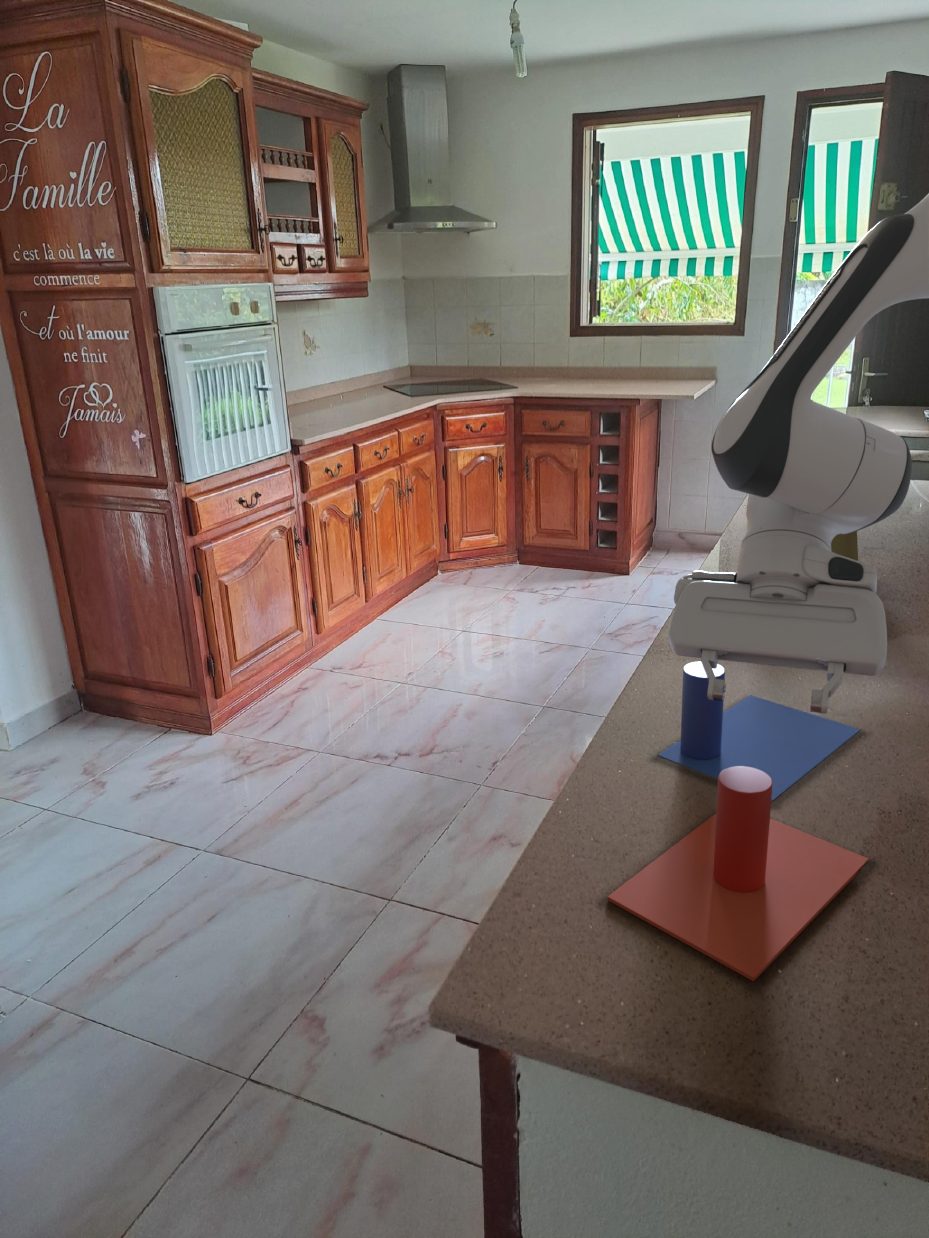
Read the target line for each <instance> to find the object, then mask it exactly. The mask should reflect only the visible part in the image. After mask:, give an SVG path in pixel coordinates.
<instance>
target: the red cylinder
mask: <svg viewBox="0 0 929 1238" xmlns="http://www.w3.org/2000/svg"><path fill="white" fill-rule="evenodd" d="M772 786H773V782H772V779H771V777H770V776H769V775H768V774H766V773H765V772H763V771H761V770H759V769H756V768H752V767H745V766H736V767H730V768H727V769H725V770H723V771H722V772H721V773H720V774H719V776H718V779H717V792H716V793H717V794H716V795H717V796H716V813H715V814H716V831H715V850H714V869H713V875H714V878H715V880H716V881H717V882H718V883H719V884H720V885H721V886H723V887H724V888H726V889H728V890H731V891H735V892H742V893H746V892H753V891H756V890H758V889H760V888H761V887H762V886H763V885H764V883H765V876H766V863H767V850H768V837H769V824H770V818H771V812H772V811H771V810H772V800H771V798H772Z"/></svg>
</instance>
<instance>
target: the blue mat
mask: <svg viewBox="0 0 929 1238" xmlns="http://www.w3.org/2000/svg"><path fill="white" fill-rule="evenodd" d="M860 731H861V728H858V727H855V726H851V725H849V724H845V723H842V722H839V721H835V720H832V719H829V718H825V717H822V716H820V715H816V714H813V713H811V712H810V713H809V712H806V711H804V710H800V709H796V708H793V707H791V706H787V705H784V704H781V703H777V702H774V701H770V700H768V699H764V698H761V697H757V696H755V695H752V694H750V695H748V696H747V697H746V698H743V699H742V700H741V701H739V702H738V703H736V704H734V705H733V706H730V708H728V709H726V710H725V711H723V719H722V738H721V753H720V754H719V756H717V757H716V758H713V759H708V760H699V759H693V758H690V757H688V756H686V755H684V754H683V753H682V752H681V749H680V746H681V739H680V740H678V741H677V742H675V743H674V744H672V745H671V746H669V747H668V748H666V749H664V750H663V751H661V752H660V753H659V754H657V756H658V757H661V758H663V759H666V760H668V761H670V762H673V763H676V764H678V765H681V766H683V767H686V768H688V769H690V770H694V771H695V772H699V773H700V774H703V775H706V776H709V777H712V778H714V779H716V780H718V776H719V774H720V773H721V772H722V771H723V770H725V769H727V768H730V767H736V766H745V767H752V768H756V769H759V770H761V771H763V772H765V773H766V774H768V775H769V776H770V777H771V779H772V782H773V786H772V798H771V802H772V801H775V800H776V799H777V798H779V797H780V796H781V795H782V794H783V793H785V792H786V791H787V790H788V789H790V788H791V787H792V786H793V785H794V784H796V783H797V782H798V781H799V780H801V779H802V778H803V777H805V776H806V775H807V774H808V773H809V772H811V771H812V770H813V769H814V768H816V767H817V766H818V765H819V764H820V763H822V762H823V761H824V760H826V759H827V758H828V757H829V756H830V755H832V754H833V753H834V752H835V751H837V750H838V749H839V748H840V747H841V746H843V745H844V744H846V742H848V741H849V740H851V738H853V737H854V736H855V735H856V734H857V733H859V732H860Z"/></svg>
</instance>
